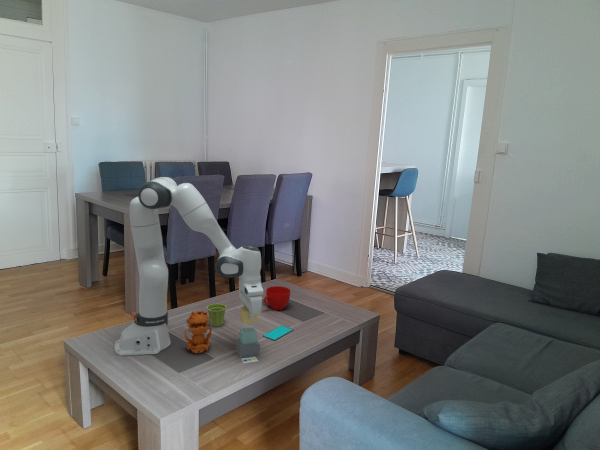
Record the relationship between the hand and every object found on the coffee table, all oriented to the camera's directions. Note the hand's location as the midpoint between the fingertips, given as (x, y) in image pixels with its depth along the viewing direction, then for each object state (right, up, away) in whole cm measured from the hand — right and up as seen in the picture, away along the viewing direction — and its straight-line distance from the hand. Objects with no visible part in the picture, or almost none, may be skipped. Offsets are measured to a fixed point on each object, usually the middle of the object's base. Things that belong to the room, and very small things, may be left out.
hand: (249, 316), depth 182 cm
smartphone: (+11, -13, +23) cm, 29 cm away
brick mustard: (0, -2, 0) cm, 2 cm away
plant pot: (-19, -10, +29) cm, 37 cm away
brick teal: (-1, -11, +2) cm, 11 cm away
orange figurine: (-22, -15, +3) cm, 26 cm away
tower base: (-1, -16, +3) cm, 16 cm away
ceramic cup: (+8, -7, +53) cm, 54 cm away
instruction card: (+1, -17, -3) cm, 17 cm away
